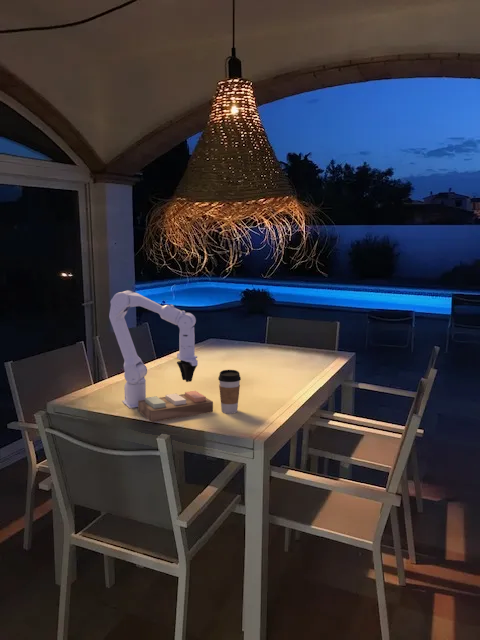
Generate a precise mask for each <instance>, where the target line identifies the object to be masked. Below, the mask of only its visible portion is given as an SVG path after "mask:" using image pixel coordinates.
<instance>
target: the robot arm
mask: <svg viewBox="0 0 480 640" xmlns="http://www.w3.org/2000/svg"><path fill="white" fill-rule="evenodd" d="M109 301H110V307H109V315H108V316H109V321H110V324H111V327H112V329H113V332H114V335H115V338H116V341H117V344H118V346H119V349H120V352H121V355H122V357H123V360H124V362H123V370H124V375H123V376H124V379H125V381H126V382H125V383H124V386H123V387H124V399H123V400H122V401H121V402H122V403H123V404H124V405H125V406H127V407H128V408H129V409H134V408H138V401H139V400H145V398H147V394H146V393H147V392H146V391H147V390H146V389H147V387H146V386H147V385H146V384H147V382H146V378H145V377H146V376H147V373H148V367H147V366H146V365H145V363H143V361H142V358H141V357H139V355H138V353H137V350H136V347H135V345H134V342H133V339H132V336H131V332H130V330H129V328H128V325H127V321H126V319H125V316H126V315H127V314H128V311H129V310H130V309H131V308H135V307H141V308H144V309H147V311H151V312H154V313H157V314H158V315H159V316H160V318H161V319H162V320H164V321H166V322H168V323H171V324H172V325H175V326H177V327H178V329H179V334H178V335H179V339H178V340H179V343H178V344H179V345H178V346H179V350H178V351H179V352H178V353H176V358H177V359H178V360H180V361H177V362H176V364H177V366H178V367H179V371H180V376H181V378H182V380H183V381H185V383H190V382H191V383H192V380H193V377H194V372H195V370H196V368H197V366H198V360H197V359H198V356H197V355H195V352H196V351H195V350H196V349H195V345H196V343H195V341H196V340H195V338H196V337H195V324H196V322H197V318H196V316H195V315H194V314H193V313H191V312H186V311H185V310H181V309H178V308H176V307H175V305H173V304H170V305H169V304H165V305H161V304H160V303H157V302H156V301H154V300H151V299H150V298H148V297H146V296H144V295H142V294H140V293H138V292H134V291H132V290H129V289H127V290H124V291H120V292H117V293H115V294H114V295H113V297H112V298H111V300H109Z"/></svg>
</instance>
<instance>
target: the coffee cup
mask: <svg viewBox="0 0 480 640" xmlns="http://www.w3.org/2000/svg"><path fill="white" fill-rule="evenodd" d="M241 379H242V378H241V375H240V372H239V371H238V370H236V369H223V370H221V371H220V372H219V376H218V379H217V380H218V381H219V384H218V387H219V397H220V407H221V412H222V413H224V414H228V415H230V414H236V413H237V412H238V407H239V398H240V387H241V385H240V381H241Z"/></svg>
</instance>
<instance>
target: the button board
mask: <svg viewBox="0 0 480 640" xmlns="http://www.w3.org/2000/svg"><path fill="white" fill-rule="evenodd" d="M179 395H180V396H181V397H183V398H184V399H186V404H182V405H175V406H174V405H173V404H171V403H170V402H169V401H167V400H166V397H165V396H162V397H161V396H160V397H159V398H160V399H161V400H163V401H164V402H165V403H166V407H162V408H156V409H153V408H152V407H151V406H149V405H148V404H147V403H145V400H139V401H138V407H137V408H138V412H139V413H140V414H142V415H143V416H144V417H145V418H146V419H148V420H149V422H151V423H156V422H161V421H166V420H167V421H168V420H172V419H179V418H187V417H191V416H197V415H202V414H203V415H204V414H210V413H213V412H214V402H213V400H211V399H209V398H208V397H206V401H201V402H193V401H191V400H190V399H188V398H187V397H185V393H183V394H182V393H181V394H179Z"/></svg>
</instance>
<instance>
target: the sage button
mask: <svg viewBox="0 0 480 640" xmlns="http://www.w3.org/2000/svg"><path fill="white" fill-rule="evenodd" d="M145 403H147V404H148V405H149V406H151V407H152V408H153V409H156V408H162V407H166V403H165V402H164V401H163V400H161V399H160V397H158V396H148V397H147V396H146V398H145Z"/></svg>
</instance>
